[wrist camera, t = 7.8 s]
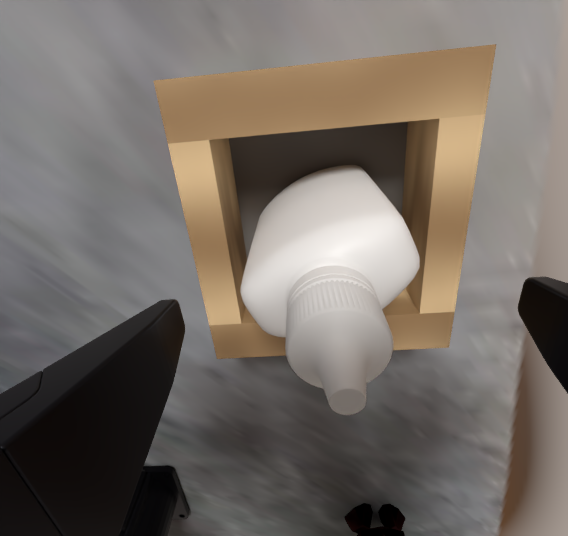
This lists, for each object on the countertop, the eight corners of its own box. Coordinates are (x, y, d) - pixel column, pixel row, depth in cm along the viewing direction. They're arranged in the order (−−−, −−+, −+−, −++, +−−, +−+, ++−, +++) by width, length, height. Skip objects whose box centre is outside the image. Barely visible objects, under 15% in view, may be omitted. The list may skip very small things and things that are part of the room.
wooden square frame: (421, 301, 20) (448, 347, 16) (230, 312, 21) (216, 358, 17) (446, 55, 14) (496, 44, 11) (187, 83, 15) (153, 80, 12)
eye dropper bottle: (367, 249, 18) (470, 478, 7) (260, 247, 18) (210, 470, 8) (378, 163, 16) (539, 306, 5) (257, 162, 16) (184, 300, 6)
